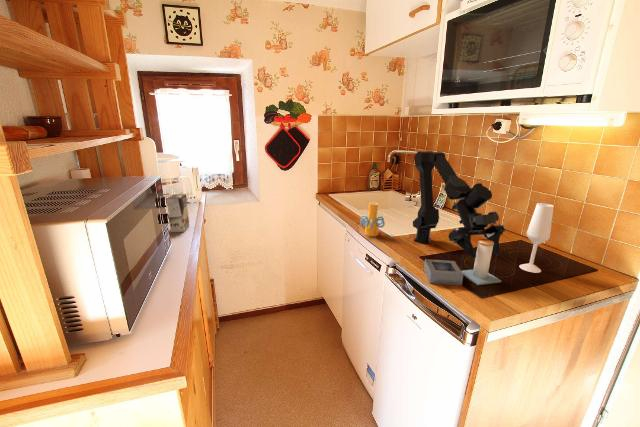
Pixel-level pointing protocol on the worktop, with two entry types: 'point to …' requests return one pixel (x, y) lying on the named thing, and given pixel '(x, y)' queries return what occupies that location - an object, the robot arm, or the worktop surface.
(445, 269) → the frame
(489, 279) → the pad
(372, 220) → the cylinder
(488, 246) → the plug
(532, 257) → the champagne flute
